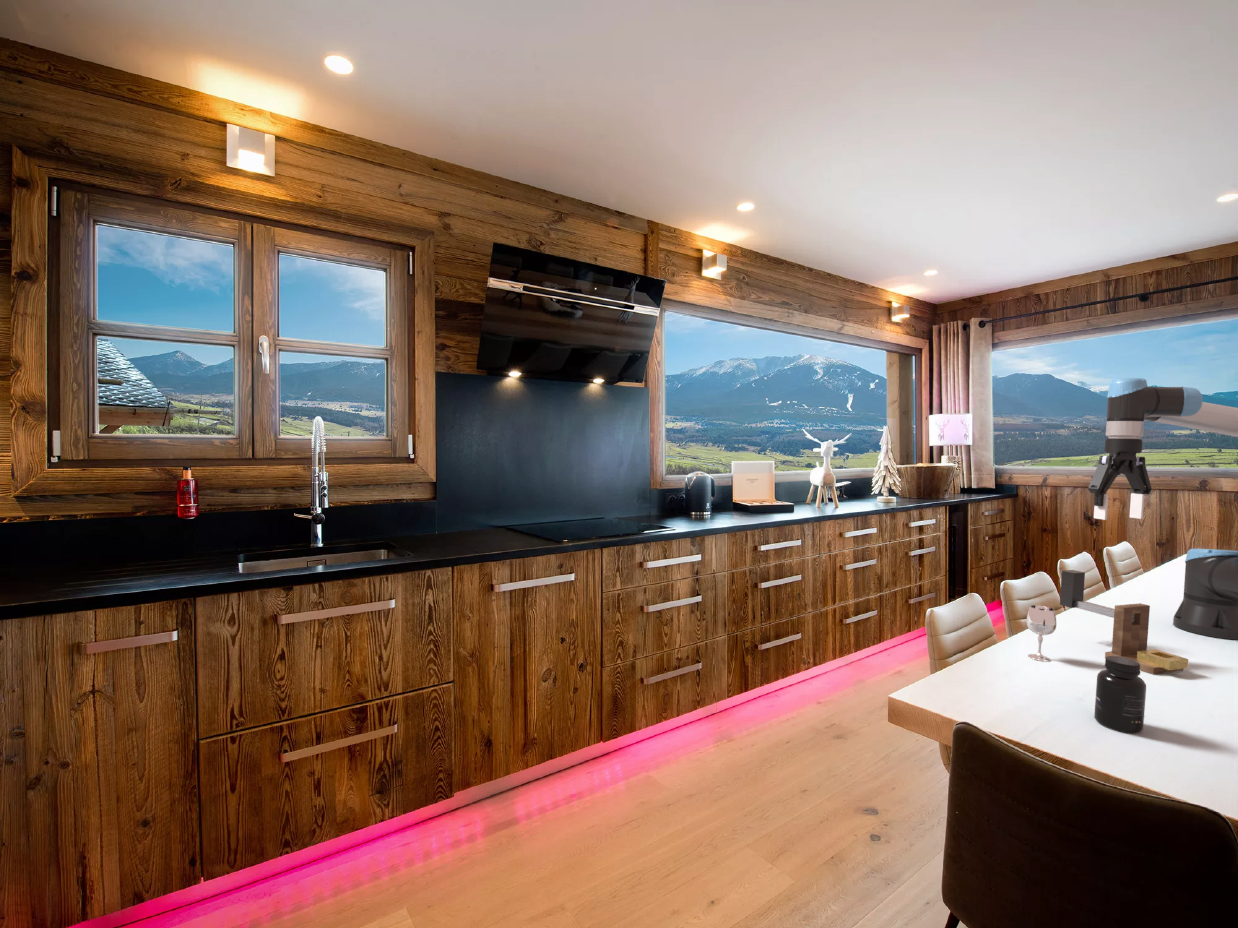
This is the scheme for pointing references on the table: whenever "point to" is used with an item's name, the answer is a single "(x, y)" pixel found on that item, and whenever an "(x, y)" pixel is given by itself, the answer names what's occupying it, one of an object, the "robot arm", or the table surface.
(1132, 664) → the supplement bottle
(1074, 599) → the grey hammer
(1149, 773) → the table surface
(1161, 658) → the block
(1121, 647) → the bearing frame
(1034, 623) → the wineglass
